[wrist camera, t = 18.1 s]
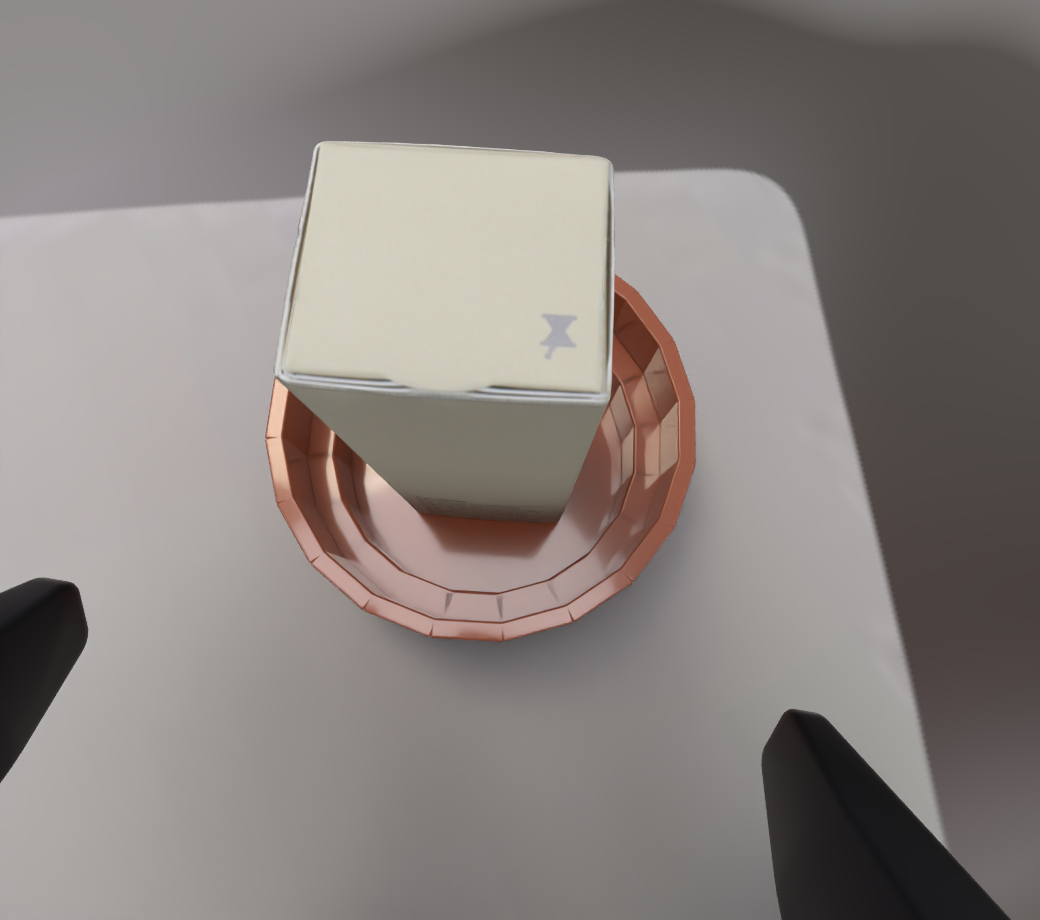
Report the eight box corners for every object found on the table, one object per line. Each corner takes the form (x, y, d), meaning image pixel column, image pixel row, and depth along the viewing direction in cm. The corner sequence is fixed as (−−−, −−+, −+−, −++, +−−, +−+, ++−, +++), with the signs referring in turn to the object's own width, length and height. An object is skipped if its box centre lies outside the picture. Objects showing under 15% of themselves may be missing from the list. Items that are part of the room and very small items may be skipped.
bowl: (589, 690, 21) (614, 712, 16) (259, 556, 22) (188, 539, 17) (697, 372, 24) (747, 309, 19) (401, 264, 24) (375, 177, 20)
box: (565, 405, 23) (639, 145, 10) (559, 528, 22) (632, 408, 9) (417, 395, 23) (307, 121, 10) (403, 517, 22) (261, 381, 9)
